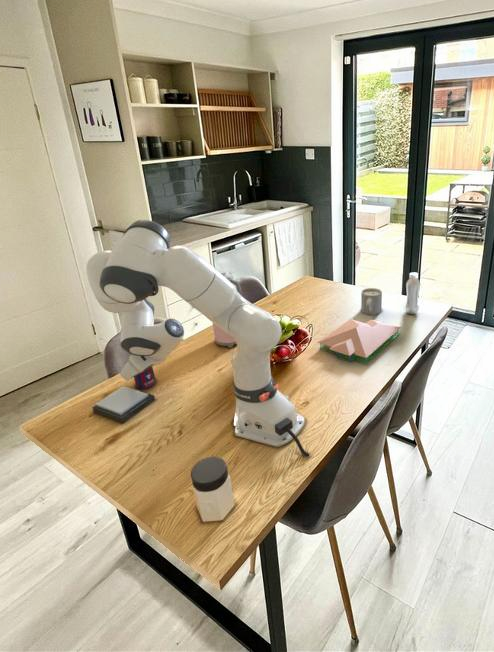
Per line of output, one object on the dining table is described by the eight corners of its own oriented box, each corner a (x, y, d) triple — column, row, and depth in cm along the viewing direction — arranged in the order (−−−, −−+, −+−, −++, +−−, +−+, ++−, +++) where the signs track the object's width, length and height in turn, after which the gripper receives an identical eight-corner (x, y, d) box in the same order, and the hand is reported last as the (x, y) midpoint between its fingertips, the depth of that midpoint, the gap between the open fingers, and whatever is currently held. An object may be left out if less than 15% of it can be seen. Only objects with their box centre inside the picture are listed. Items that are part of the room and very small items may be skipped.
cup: (142, 391, 141) (138, 374, 138) (127, 382, 147) (123, 366, 144) (159, 382, 146) (155, 366, 143) (144, 373, 151) (140, 358, 149)
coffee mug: (366, 305, 204) (366, 286, 201) (384, 308, 200) (384, 289, 196) (355, 314, 194) (355, 295, 190) (374, 318, 189) (374, 299, 185)
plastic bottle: (403, 309, 197) (405, 271, 189) (417, 309, 196) (420, 271, 188) (404, 315, 191) (406, 275, 184) (419, 315, 190) (421, 276, 183)
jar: (193, 523, 92) (184, 485, 87) (200, 494, 99) (193, 457, 94) (232, 520, 92) (225, 482, 87) (236, 491, 100) (231, 455, 95)
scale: (155, 400, 136) (153, 393, 135) (123, 423, 125) (121, 416, 124) (126, 390, 142) (124, 383, 141) (93, 412, 131) (91, 405, 130)
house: (313, 352, 162) (312, 334, 159) (355, 322, 186) (355, 306, 183) (362, 368, 149) (362, 349, 146) (400, 334, 174) (401, 317, 171)
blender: (209, 344, 171) (197, 273, 159) (228, 332, 181) (219, 265, 169) (237, 352, 164) (227, 279, 152) (255, 339, 174) (248, 270, 161)
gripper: (172, 331, 144) (157, 349, 152) (125, 358, 127) (111, 377, 135) (183, 344, 144) (168, 362, 152) (138, 373, 127) (123, 391, 135)
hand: (141, 369), depth 143 cm, fingers open, 8 cm apart
